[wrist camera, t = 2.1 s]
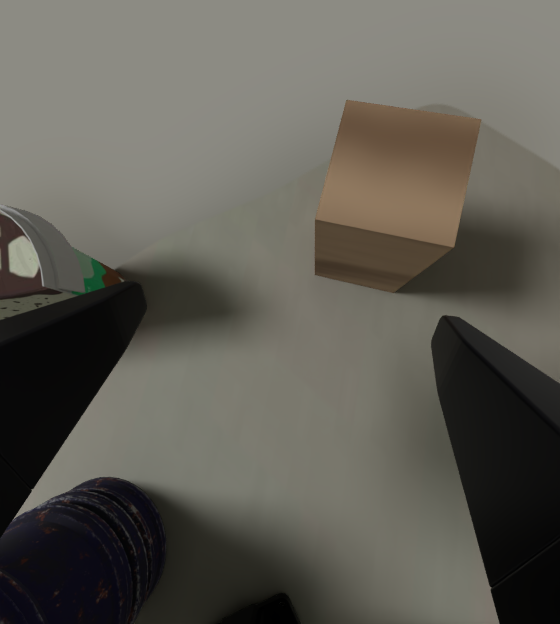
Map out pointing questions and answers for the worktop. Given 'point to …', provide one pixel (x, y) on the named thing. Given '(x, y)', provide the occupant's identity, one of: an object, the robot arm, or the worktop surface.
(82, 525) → the storage jar
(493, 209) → the worktop surface
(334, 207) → the tan rectangular block
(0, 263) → the food container
